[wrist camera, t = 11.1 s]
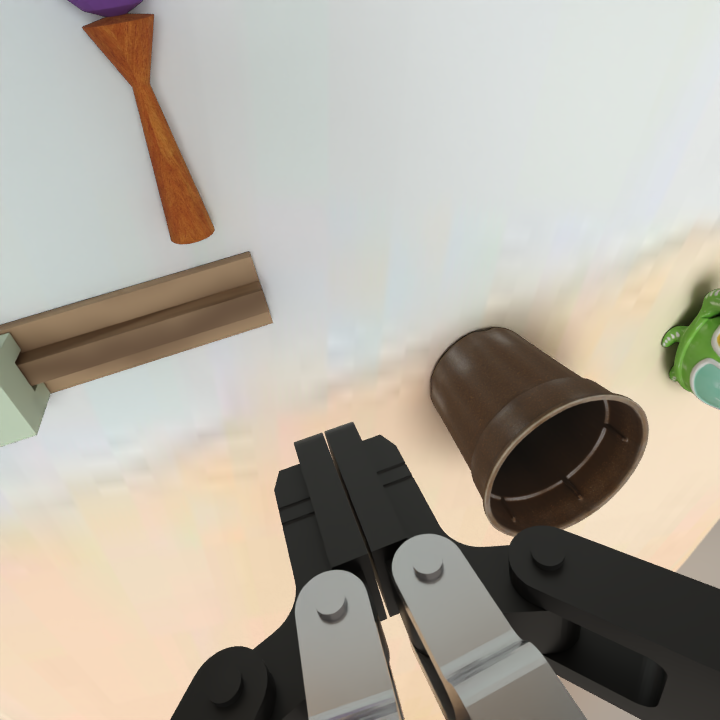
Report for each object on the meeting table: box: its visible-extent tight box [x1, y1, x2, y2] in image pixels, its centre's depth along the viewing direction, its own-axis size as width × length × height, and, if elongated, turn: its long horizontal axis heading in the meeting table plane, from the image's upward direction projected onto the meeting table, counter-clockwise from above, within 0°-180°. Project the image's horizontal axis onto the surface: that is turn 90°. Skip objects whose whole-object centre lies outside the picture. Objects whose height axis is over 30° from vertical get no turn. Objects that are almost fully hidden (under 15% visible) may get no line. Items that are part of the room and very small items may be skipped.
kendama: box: [68, 0, 215, 244], centre depth 34 cm, size 6×6×20 cm
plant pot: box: [431, 328, 649, 537], centre depth 52 cm, size 16×16×16 cm
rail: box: [0, 252, 273, 393], centre depth 41 cm, size 6×26×5 cm, turn 102°
